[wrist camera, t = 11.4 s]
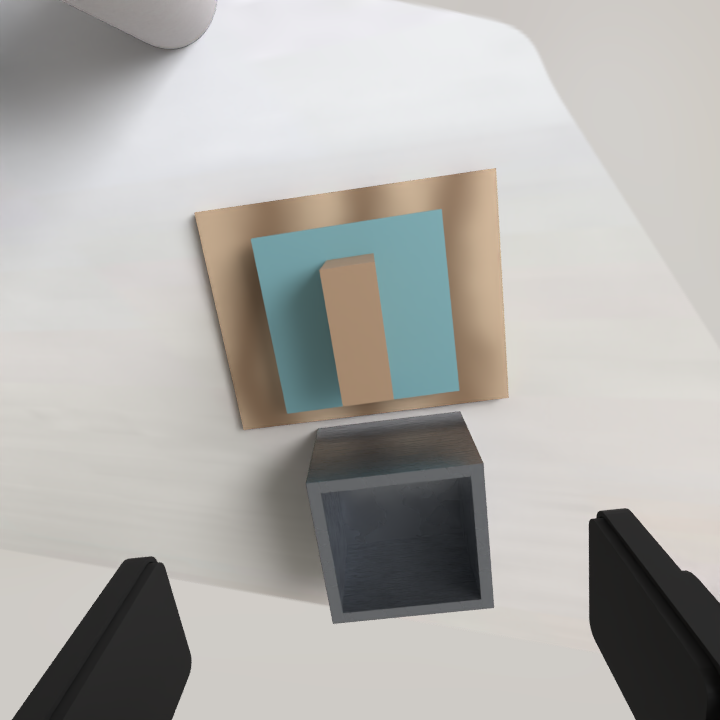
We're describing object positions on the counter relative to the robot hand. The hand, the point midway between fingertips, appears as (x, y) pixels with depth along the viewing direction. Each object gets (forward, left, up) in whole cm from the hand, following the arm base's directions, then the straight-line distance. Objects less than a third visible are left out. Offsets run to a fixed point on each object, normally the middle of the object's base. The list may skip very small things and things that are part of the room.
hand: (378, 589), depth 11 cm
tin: (0, +13, -27) cm, 30 cm away
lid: (+1, -1, -26) cm, 26 cm away
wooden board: (+1, -1, -27) cm, 27 cm away
